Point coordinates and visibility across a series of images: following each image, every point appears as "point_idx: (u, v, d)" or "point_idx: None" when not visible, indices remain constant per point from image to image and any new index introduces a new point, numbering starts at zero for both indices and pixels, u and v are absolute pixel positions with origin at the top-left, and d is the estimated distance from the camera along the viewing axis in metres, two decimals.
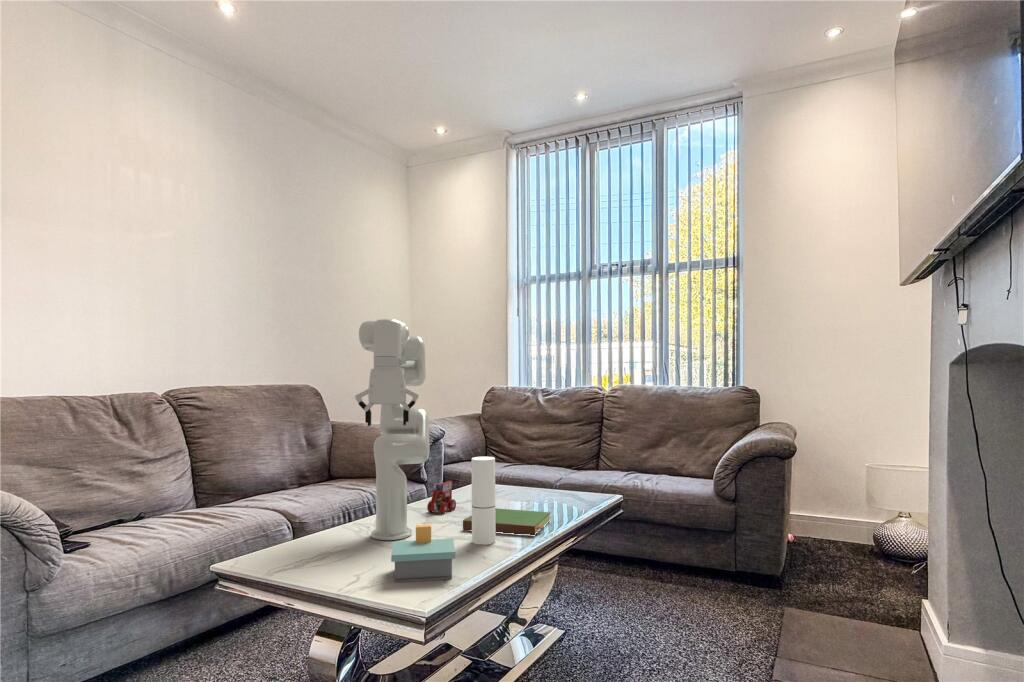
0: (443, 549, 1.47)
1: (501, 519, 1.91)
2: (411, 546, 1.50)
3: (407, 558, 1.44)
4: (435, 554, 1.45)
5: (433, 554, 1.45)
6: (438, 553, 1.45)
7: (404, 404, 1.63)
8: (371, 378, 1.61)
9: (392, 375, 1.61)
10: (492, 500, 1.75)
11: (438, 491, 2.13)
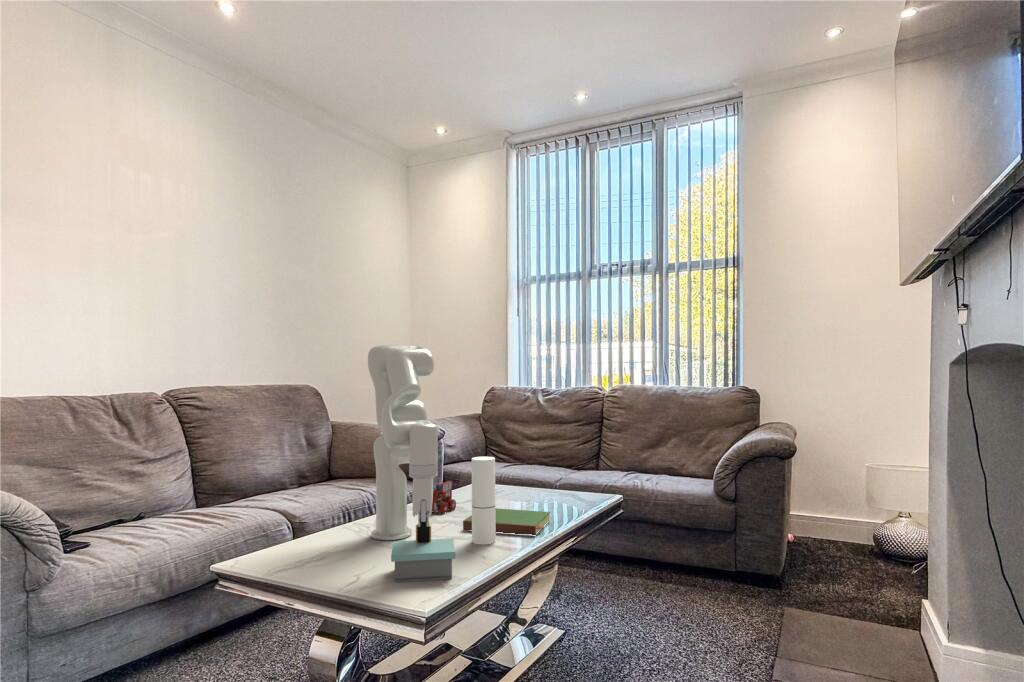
0: (443, 549, 1.47)
1: (501, 519, 1.91)
2: (411, 546, 1.50)
3: (407, 558, 1.44)
4: (435, 554, 1.45)
5: (433, 554, 1.45)
6: (438, 553, 1.45)
7: None
8: (431, 488, 1.51)
9: None
10: (492, 500, 1.75)
11: (438, 491, 2.13)
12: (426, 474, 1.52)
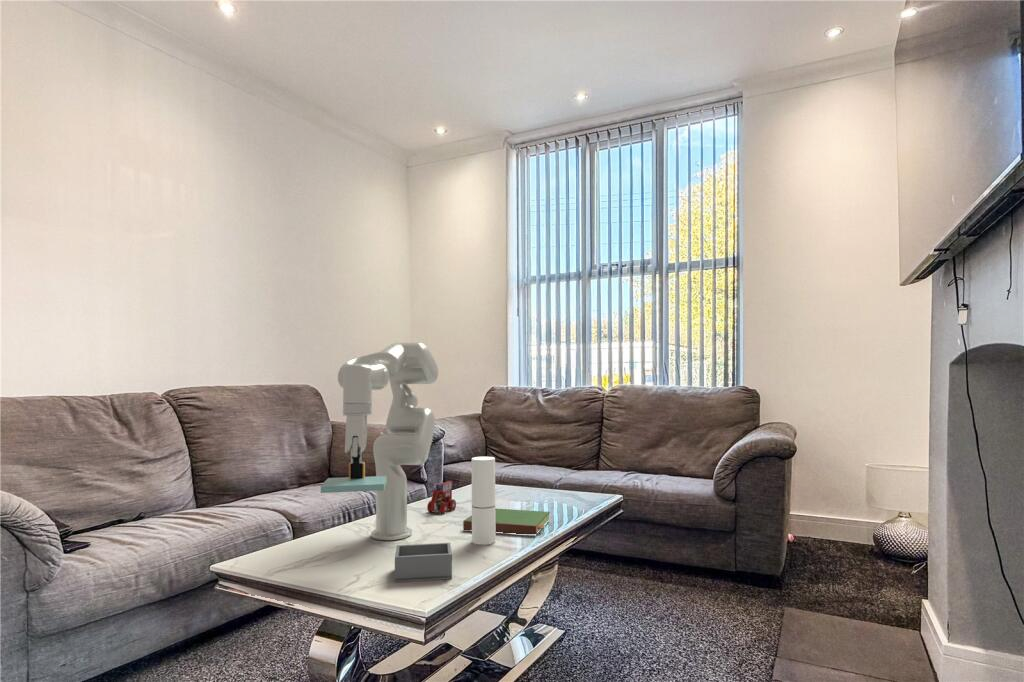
0: (373, 482, 1.52)
1: (501, 519, 1.91)
2: (343, 481, 1.54)
3: (336, 490, 1.48)
4: (364, 486, 1.49)
5: (362, 486, 1.49)
6: (367, 485, 1.49)
7: None
8: (363, 425, 1.56)
9: None
10: (492, 500, 1.75)
11: (438, 491, 2.13)
12: (358, 412, 1.56)
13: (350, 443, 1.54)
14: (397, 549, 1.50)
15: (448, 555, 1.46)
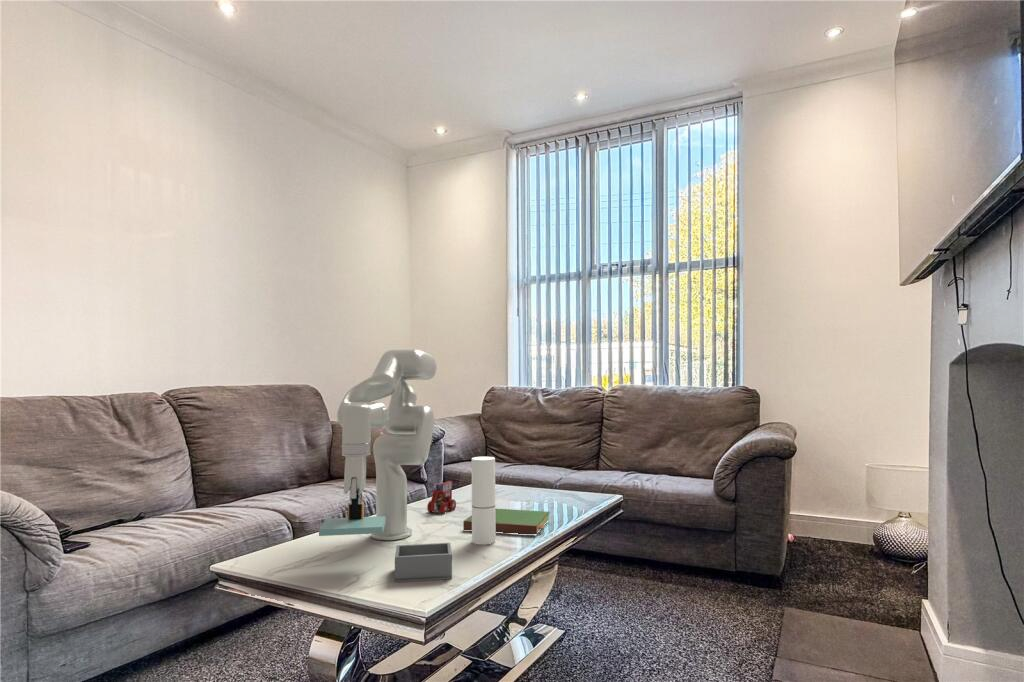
0: (372, 524, 1.51)
1: (502, 519, 1.91)
2: (341, 522, 1.54)
3: (334, 533, 1.47)
4: (362, 529, 1.48)
5: (360, 529, 1.48)
6: (365, 528, 1.48)
7: (361, 494, 1.61)
8: (362, 466, 1.55)
9: None
10: (492, 500, 1.75)
11: (438, 491, 2.13)
12: (357, 453, 1.56)
13: (349, 484, 1.54)
14: (397, 549, 1.50)
15: (448, 555, 1.46)
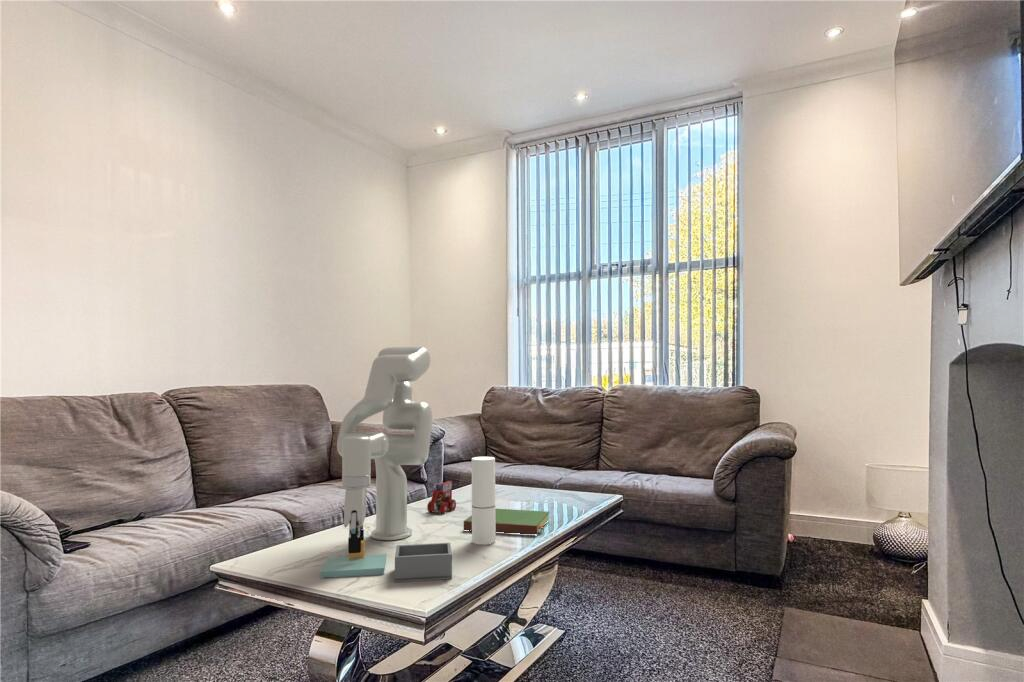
0: (373, 565, 1.51)
1: (502, 519, 1.91)
2: (343, 562, 1.54)
3: (336, 575, 1.48)
4: (364, 570, 1.49)
5: (362, 570, 1.49)
6: (367, 569, 1.49)
7: None
8: (362, 499, 1.55)
9: None
10: (492, 500, 1.75)
11: (438, 491, 2.13)
12: (357, 485, 1.55)
13: (349, 518, 1.53)
14: (397, 549, 1.50)
15: (448, 555, 1.46)
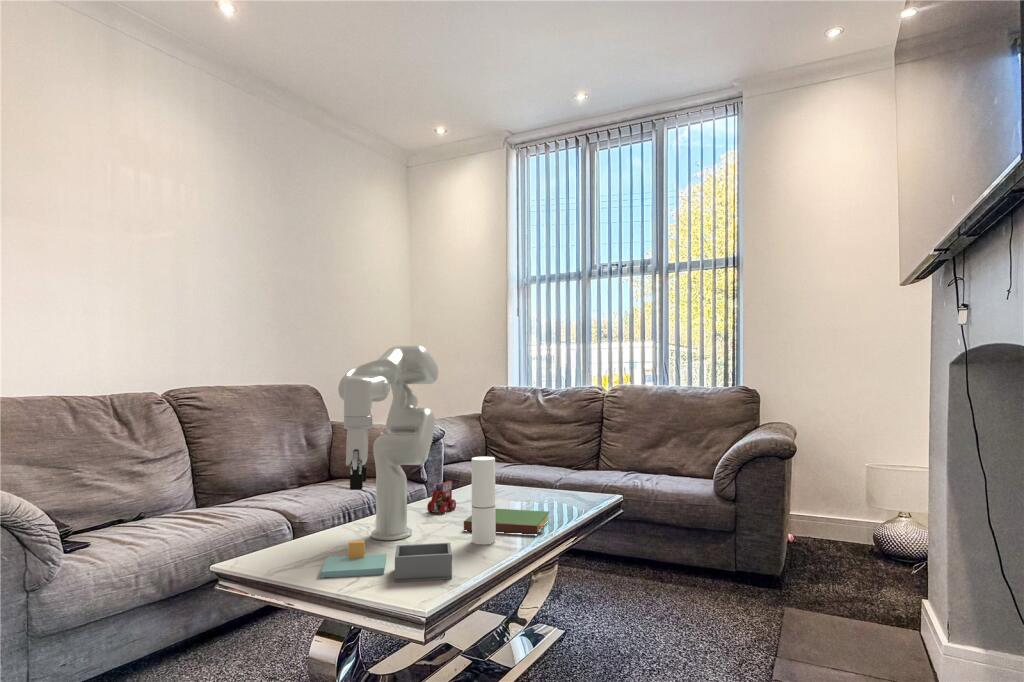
0: (373, 565, 1.51)
1: (502, 519, 1.90)
2: (343, 562, 1.54)
3: (336, 575, 1.48)
4: (364, 570, 1.49)
5: (362, 570, 1.49)
6: (367, 569, 1.49)
7: None
8: (364, 439, 1.56)
9: None
10: (492, 500, 1.75)
11: (438, 491, 2.13)
12: (359, 425, 1.57)
13: (351, 457, 1.55)
14: (397, 549, 1.50)
15: (448, 555, 1.46)
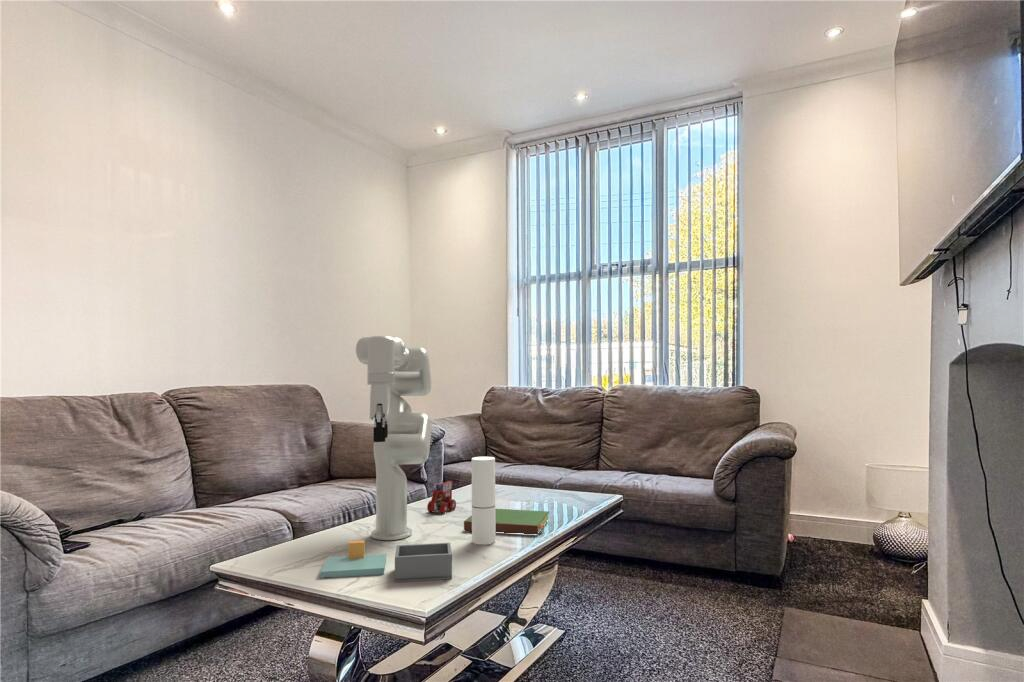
0: (373, 565, 1.51)
1: (502, 519, 1.90)
2: (343, 562, 1.54)
3: (336, 575, 1.48)
4: (364, 570, 1.49)
5: (362, 570, 1.49)
6: (367, 569, 1.49)
7: (386, 418, 1.71)
8: (387, 394, 1.63)
9: None
10: (492, 500, 1.75)
11: (438, 491, 2.13)
12: (382, 381, 1.64)
13: (375, 410, 1.61)
14: (397, 549, 1.50)
15: (448, 555, 1.46)
